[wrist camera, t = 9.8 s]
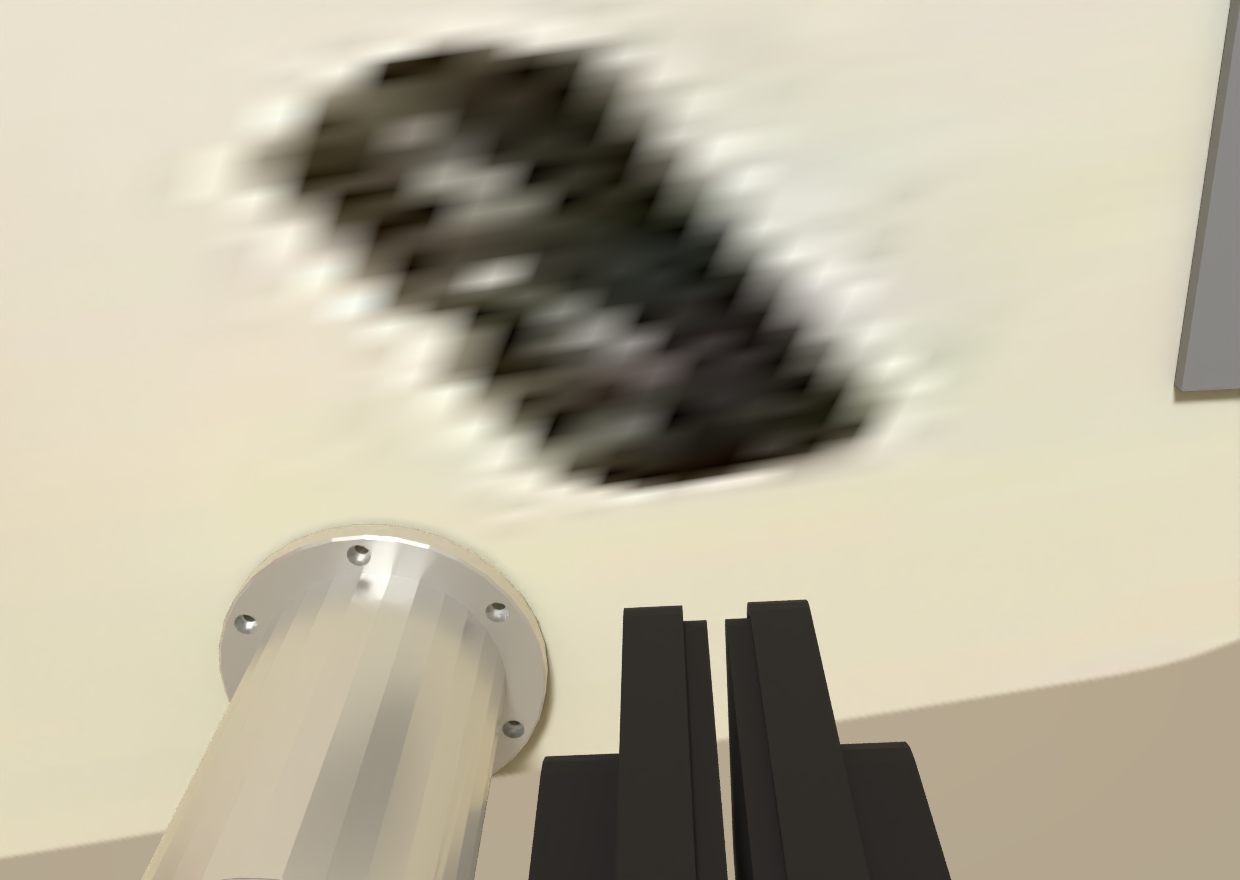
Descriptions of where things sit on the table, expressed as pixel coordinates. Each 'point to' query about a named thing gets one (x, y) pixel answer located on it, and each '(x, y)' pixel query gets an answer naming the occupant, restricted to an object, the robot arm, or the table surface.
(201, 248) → the table surface
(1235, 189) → the mat
